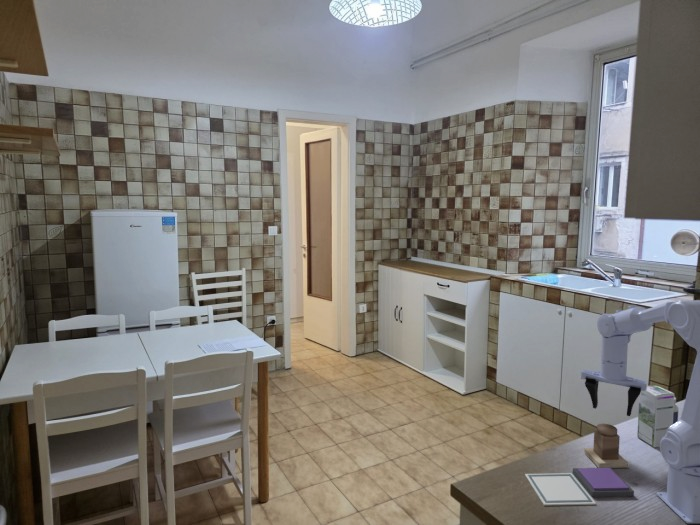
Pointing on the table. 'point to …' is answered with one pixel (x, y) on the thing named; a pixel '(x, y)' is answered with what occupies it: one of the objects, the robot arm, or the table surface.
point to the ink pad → (602, 482)
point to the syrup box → (655, 414)
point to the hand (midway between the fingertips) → (611, 410)
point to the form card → (559, 489)
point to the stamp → (606, 448)
